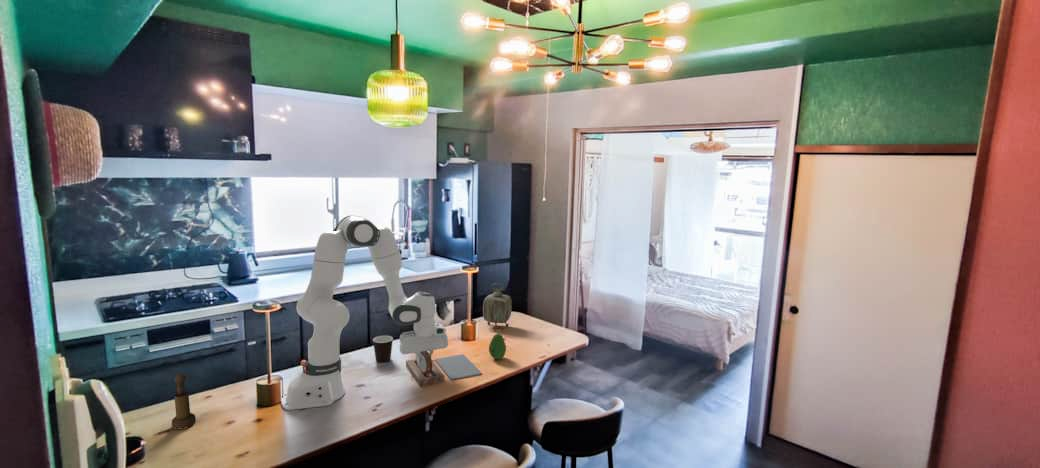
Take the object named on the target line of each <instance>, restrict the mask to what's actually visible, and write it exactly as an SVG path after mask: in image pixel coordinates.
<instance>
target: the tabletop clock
mask: <svg viewBox="0 0 1040 468" xmlns="http://www.w3.org/2000/svg"><path fill="white" fill-rule="evenodd" d="M495 285H499V286H501V287H502V289H499V288H498V287H497V288H494V287H493V286H495ZM504 287H505V286H504V285H503V283H499V282H495V283H493V284H491V289H492V290H493V293H490V294H488V295H487V296H486V297H485V298H484V299H483V302H482V303H483V304H482V316H483V320H484V321H486V322H487V325H490V324H491V323H494V324H495V325H494V326H493V328H494V329H497V328H498V326H497V324H505V327H509V326H510V325H509V324H508V323H507V322H508V321H509V320H510V318H511V315H512V309H513V307H512V305H513V302H512V298H511V296H510V295H508V294H503V293H502V291H503V290H504Z"/></svg>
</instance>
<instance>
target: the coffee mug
mask: <svg viewBox="0 0 1040 468" xmlns="http://www.w3.org/2000/svg"><path fill="white" fill-rule="evenodd" d="M393 341H394V338H393V336H391V335H378V336H375V337H373V339H372V343H373V349H374V355H375V357H374V358H375V362H376V363H379V364H385V363H389V362H391V358H392V350H393V348H392V347H393Z"/></svg>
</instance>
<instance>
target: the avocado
mask: <svg viewBox="0 0 1040 468" xmlns="http://www.w3.org/2000/svg"><path fill="white" fill-rule="evenodd" d="M506 351H507V346H506V342H505V340H504V337H503V335H502V334H500V333H496V334H495V335H493V336H492V338H491V340H490V343H489V345H488V352H489V355H490V357H492V358H493V359H495V360H502V359H503V358H504V356H505V355H506Z"/></svg>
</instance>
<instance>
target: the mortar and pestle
mask: <svg viewBox="0 0 1040 468" xmlns="http://www.w3.org/2000/svg"><path fill="white" fill-rule="evenodd" d="M186 379H187V378H186V375H185V374H183V373H179V374H176V375H175V377H174V382H175V383H176V384H177V387H176V391H177V393H175V394H174V395H173V396H174V405H175V406H174V407H175V417H173V418H172V420H171V427H173V428H176V429H179V428H185V427H189V426H191V425H192V426H194V425H195V424H196V423H197V422H196V415H195V414H194V413H192V412H191V409H190V408H191V407H190V406H191V404H190V397H189V395H190V394H189V391H186V390H185V388H186V386H185V385H184V383H185V381H186ZM195 422H196V423H195ZM194 423H195V424H194ZM193 424H194V425H193ZM192 426H191V427H192ZM173 428H172V429H173ZM189 428H190V427H189ZM176 429H175V430H176Z"/></svg>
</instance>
